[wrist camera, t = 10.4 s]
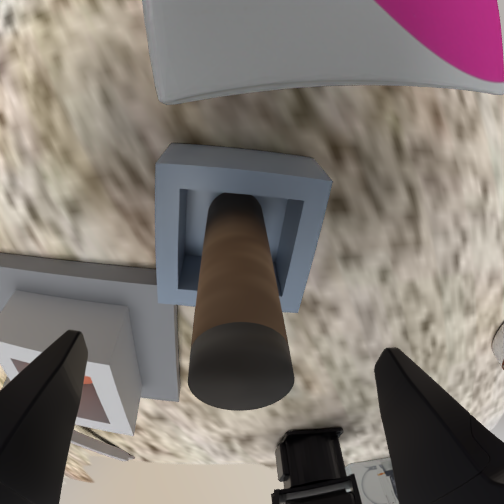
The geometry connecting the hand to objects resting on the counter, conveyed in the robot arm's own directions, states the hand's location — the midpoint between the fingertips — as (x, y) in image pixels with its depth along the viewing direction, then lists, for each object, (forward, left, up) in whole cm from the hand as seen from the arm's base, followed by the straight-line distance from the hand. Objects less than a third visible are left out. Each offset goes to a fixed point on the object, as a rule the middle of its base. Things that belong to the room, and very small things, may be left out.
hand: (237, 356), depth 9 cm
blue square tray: (0, 0, -10) cm, 10 cm away
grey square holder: (+10, +10, -10) cm, 17 cm away
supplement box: (0, -10, -10) cm, 14 cm away
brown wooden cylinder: (0, 0, -9) cm, 9 cm away
